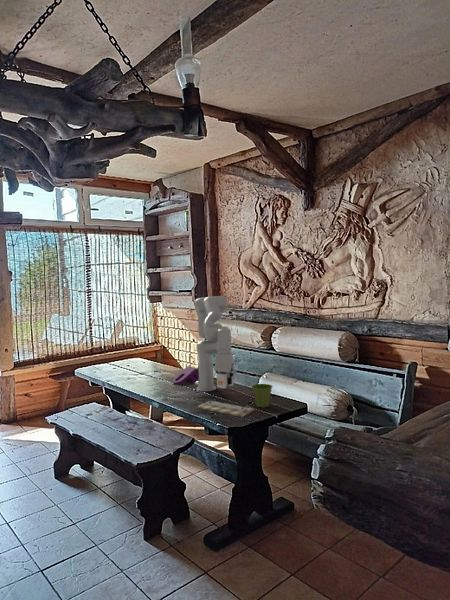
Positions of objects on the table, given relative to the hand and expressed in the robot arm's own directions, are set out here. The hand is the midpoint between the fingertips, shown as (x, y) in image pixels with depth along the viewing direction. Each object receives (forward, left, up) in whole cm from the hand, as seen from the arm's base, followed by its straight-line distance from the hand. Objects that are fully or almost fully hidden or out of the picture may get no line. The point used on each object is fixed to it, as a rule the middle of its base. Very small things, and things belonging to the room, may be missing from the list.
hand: (225, 383), depth 251 cm
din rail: (0, 0, -15) cm, 15 cm away
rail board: (0, 0, -15) cm, 15 cm away
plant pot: (+14, +16, -15) cm, 26 cm away
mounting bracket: (-59, +35, -15) cm, 71 cm away
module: (0, 0, -2) cm, 2 cm away
